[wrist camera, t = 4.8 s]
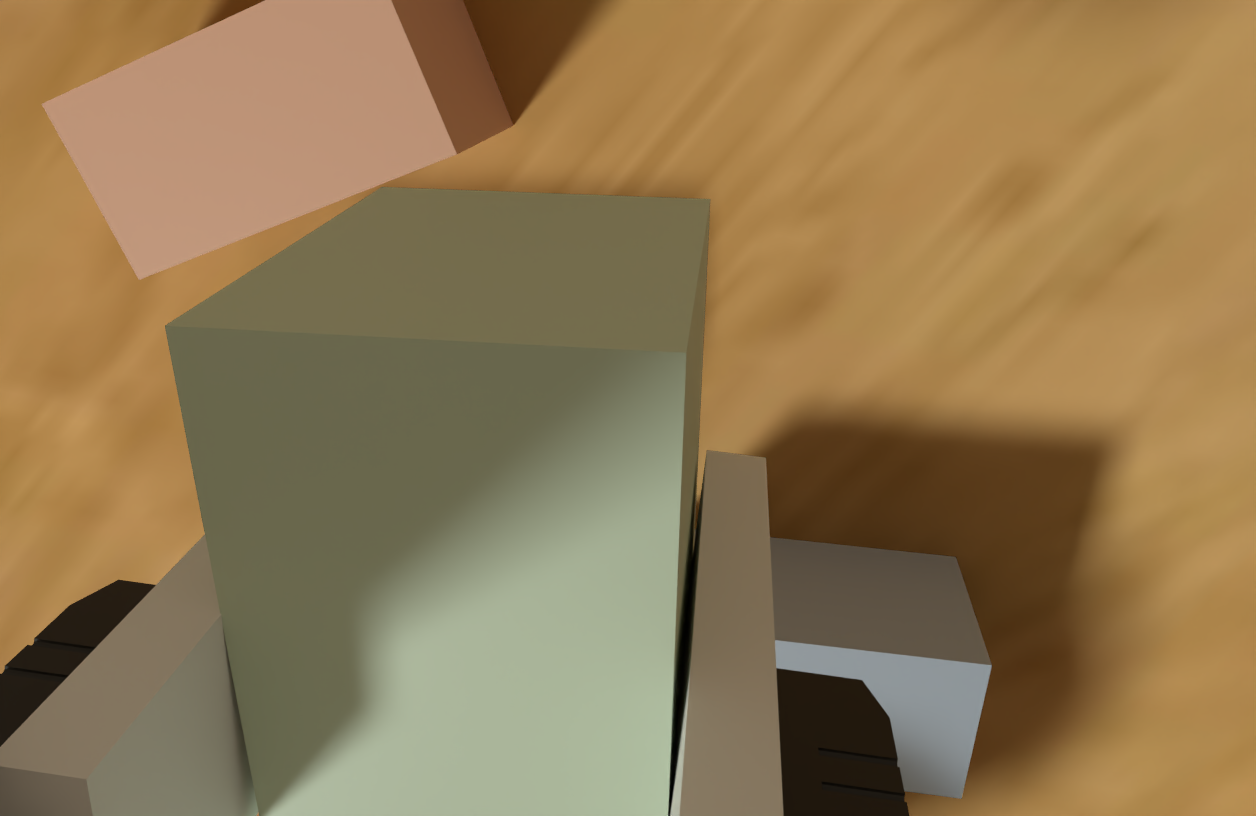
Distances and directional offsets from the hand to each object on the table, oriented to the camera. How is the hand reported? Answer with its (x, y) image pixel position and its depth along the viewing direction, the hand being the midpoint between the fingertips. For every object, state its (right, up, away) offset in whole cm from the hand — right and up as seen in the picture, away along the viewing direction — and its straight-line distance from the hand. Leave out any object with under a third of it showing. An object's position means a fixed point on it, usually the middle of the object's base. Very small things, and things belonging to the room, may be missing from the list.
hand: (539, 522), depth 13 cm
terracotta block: (-6, +9, +12) cm, 16 cm away
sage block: (0, 0, 0) cm, 1 cm away
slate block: (+6, -4, +16) cm, 17 cm away
